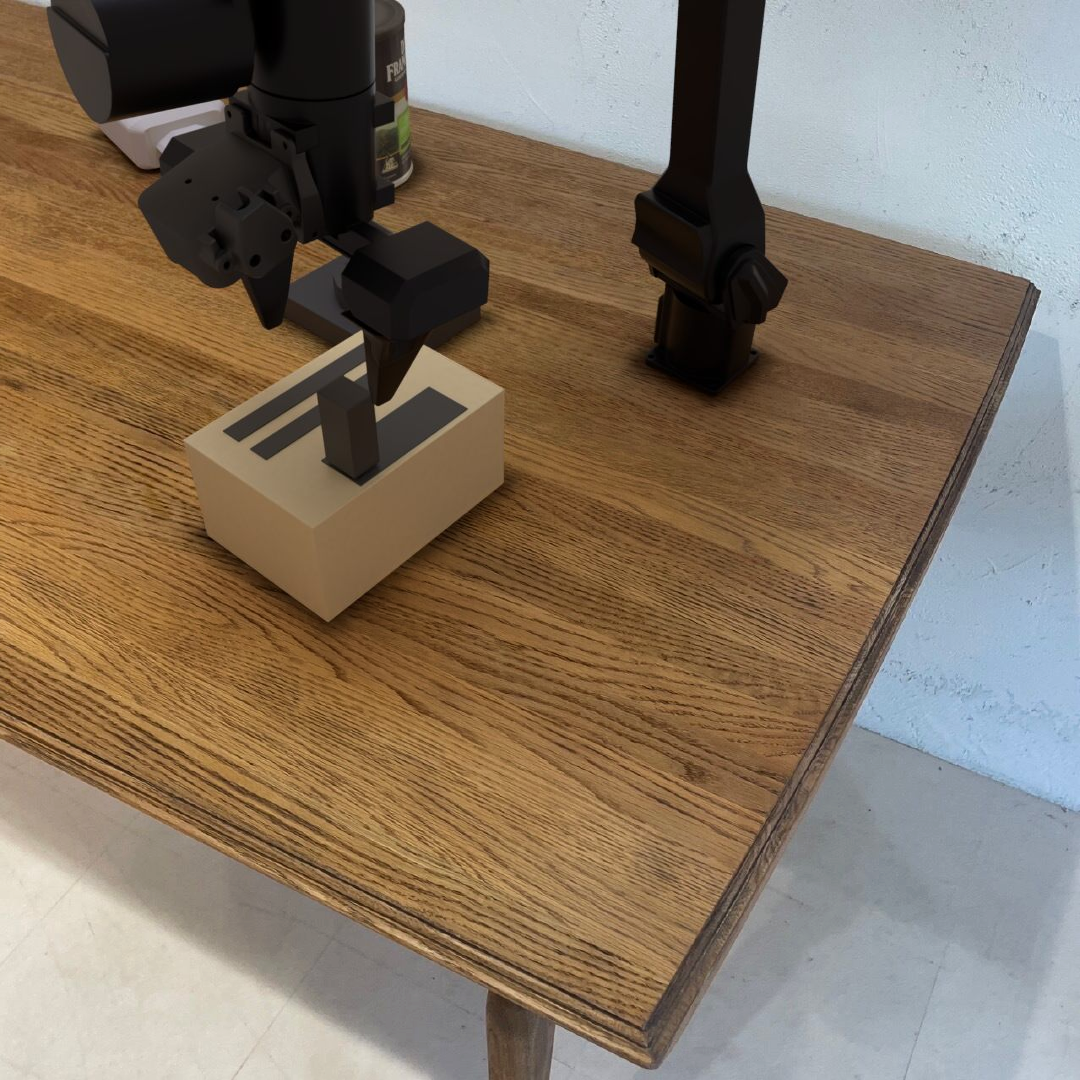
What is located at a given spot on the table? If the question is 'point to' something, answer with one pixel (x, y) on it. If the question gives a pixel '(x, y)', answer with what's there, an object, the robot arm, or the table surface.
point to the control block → (346, 307)
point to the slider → (348, 426)
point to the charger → (160, 130)
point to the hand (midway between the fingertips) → (325, 363)
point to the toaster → (334, 496)
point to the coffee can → (392, 92)
